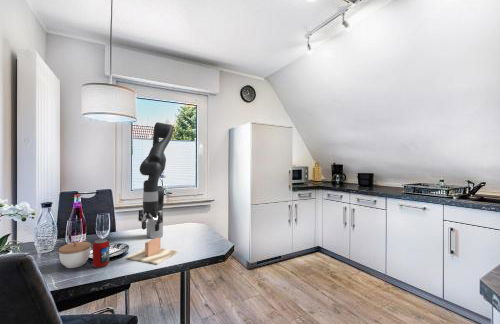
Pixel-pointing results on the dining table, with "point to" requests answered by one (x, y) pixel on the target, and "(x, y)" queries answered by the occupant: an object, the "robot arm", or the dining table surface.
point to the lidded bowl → (74, 254)
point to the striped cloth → (152, 256)
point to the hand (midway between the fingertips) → (150, 230)
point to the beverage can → (100, 253)
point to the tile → (152, 246)
